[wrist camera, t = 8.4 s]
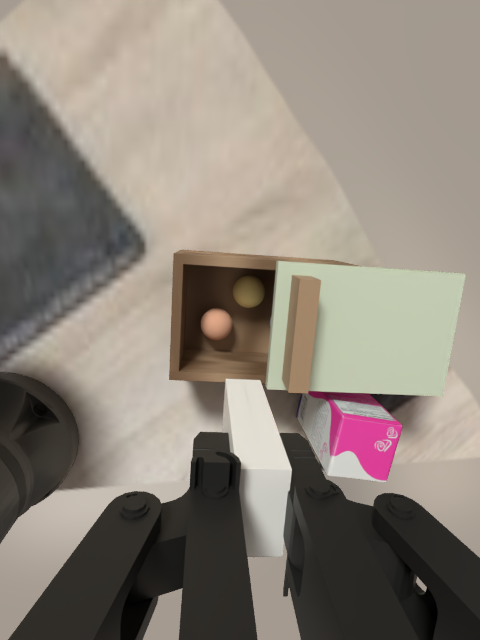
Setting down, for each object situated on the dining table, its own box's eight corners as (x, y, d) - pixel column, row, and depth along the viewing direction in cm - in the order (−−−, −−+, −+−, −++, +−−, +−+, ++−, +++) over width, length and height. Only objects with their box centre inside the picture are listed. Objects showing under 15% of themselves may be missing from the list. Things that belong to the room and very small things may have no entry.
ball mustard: (231, 303, 40) (232, 309, 37) (233, 272, 40) (234, 276, 36) (261, 305, 41) (265, 311, 37) (264, 274, 40) (268, 278, 37)
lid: (265, 384, 35) (272, 404, 31) (276, 260, 32) (285, 264, 28) (436, 391, 36) (463, 411, 32) (458, 273, 34) (490, 278, 30)
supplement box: (343, 424, 45) (387, 486, 34) (295, 416, 45) (322, 477, 33) (356, 378, 44) (405, 426, 33) (306, 369, 44) (339, 416, 32)
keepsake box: (177, 353, 42) (169, 379, 34) (181, 249, 40) (173, 253, 32) (321, 359, 43) (345, 387, 36) (333, 260, 41) (362, 266, 33)
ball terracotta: (200, 334, 41) (199, 343, 38) (201, 304, 40) (201, 310, 37) (230, 336, 41) (232, 344, 38) (232, 306, 40) (234, 312, 37)
